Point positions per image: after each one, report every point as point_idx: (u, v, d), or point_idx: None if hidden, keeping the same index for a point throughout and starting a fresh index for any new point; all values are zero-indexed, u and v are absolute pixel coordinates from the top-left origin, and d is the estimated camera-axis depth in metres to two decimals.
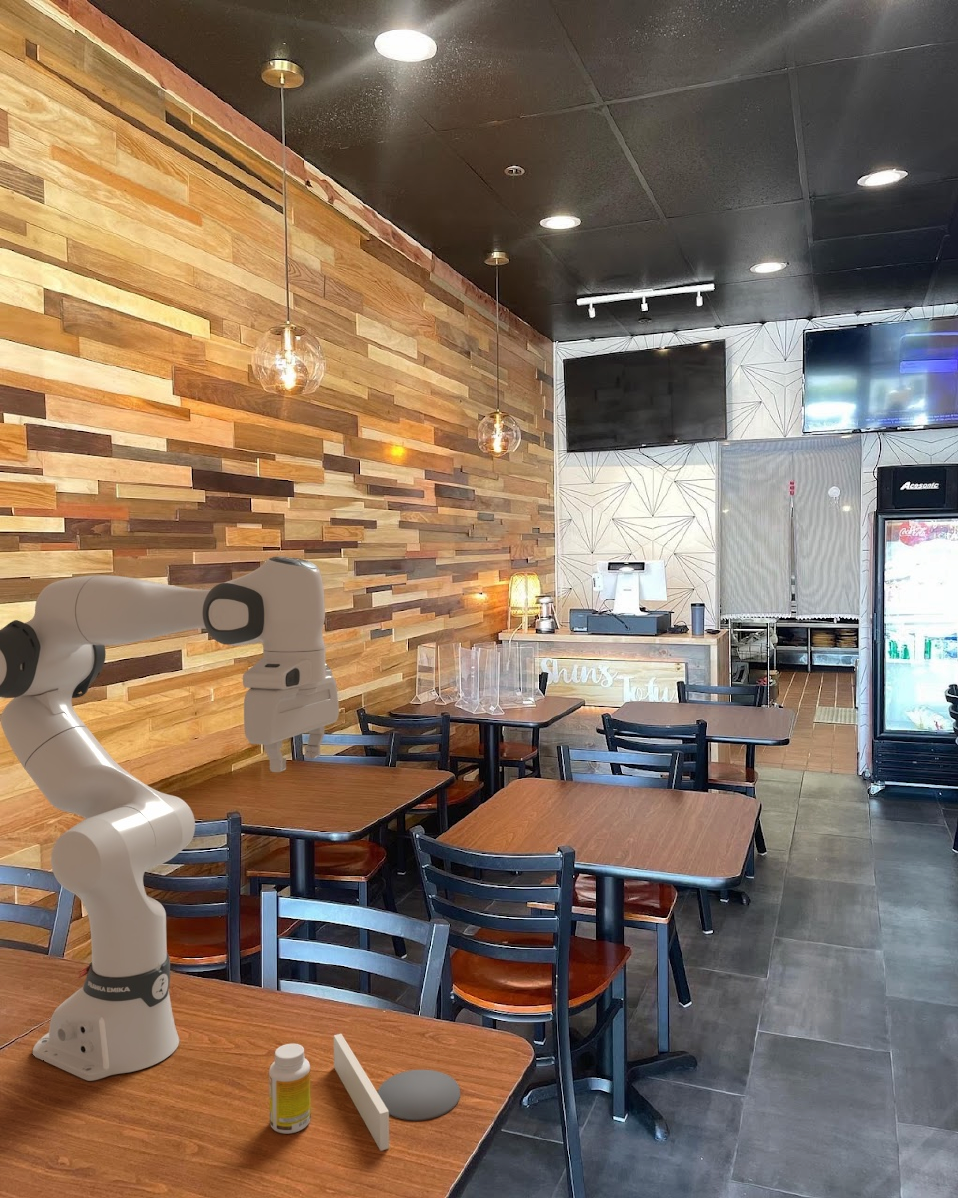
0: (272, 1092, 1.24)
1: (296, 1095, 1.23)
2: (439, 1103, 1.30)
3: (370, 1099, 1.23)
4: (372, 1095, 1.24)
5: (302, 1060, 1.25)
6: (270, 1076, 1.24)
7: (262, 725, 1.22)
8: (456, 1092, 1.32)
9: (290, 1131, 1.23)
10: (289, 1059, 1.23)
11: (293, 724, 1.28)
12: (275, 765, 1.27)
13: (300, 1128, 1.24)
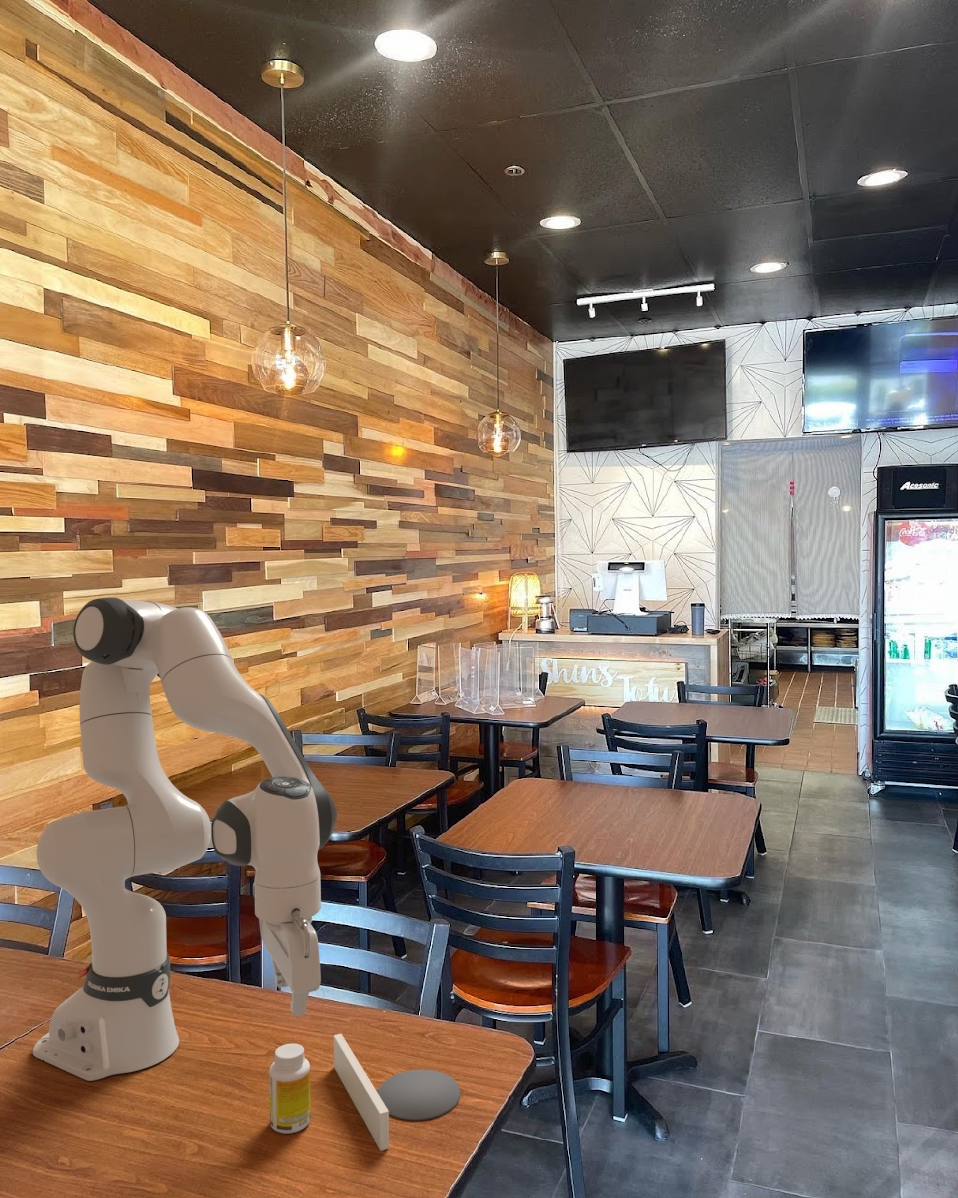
0: (272, 1092, 1.24)
1: (296, 1095, 1.23)
2: (439, 1103, 1.30)
3: (370, 1099, 1.23)
4: (372, 1095, 1.24)
5: (302, 1060, 1.25)
6: (270, 1076, 1.24)
7: None
8: (456, 1092, 1.32)
9: (290, 1131, 1.23)
10: (289, 1059, 1.23)
11: (270, 945, 1.27)
12: None
13: (300, 1128, 1.24)
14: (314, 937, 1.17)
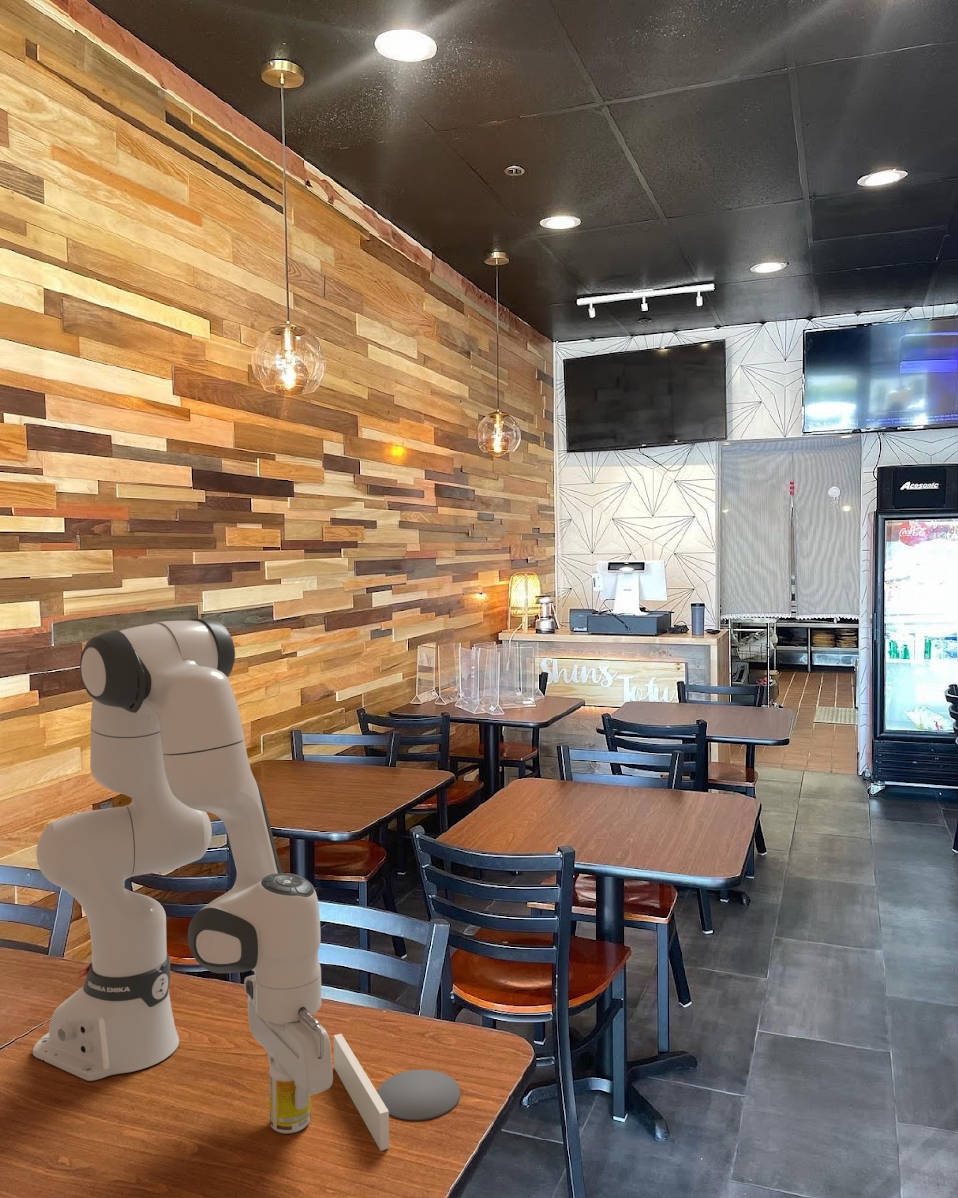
0: (272, 1092, 1.24)
1: None
2: (439, 1103, 1.30)
3: (370, 1099, 1.23)
4: (372, 1095, 1.24)
5: None
6: (270, 1076, 1.24)
7: None
8: (456, 1092, 1.32)
9: (290, 1131, 1.23)
10: None
11: (267, 1041, 1.27)
12: None
13: (300, 1128, 1.24)
14: (326, 1037, 1.19)
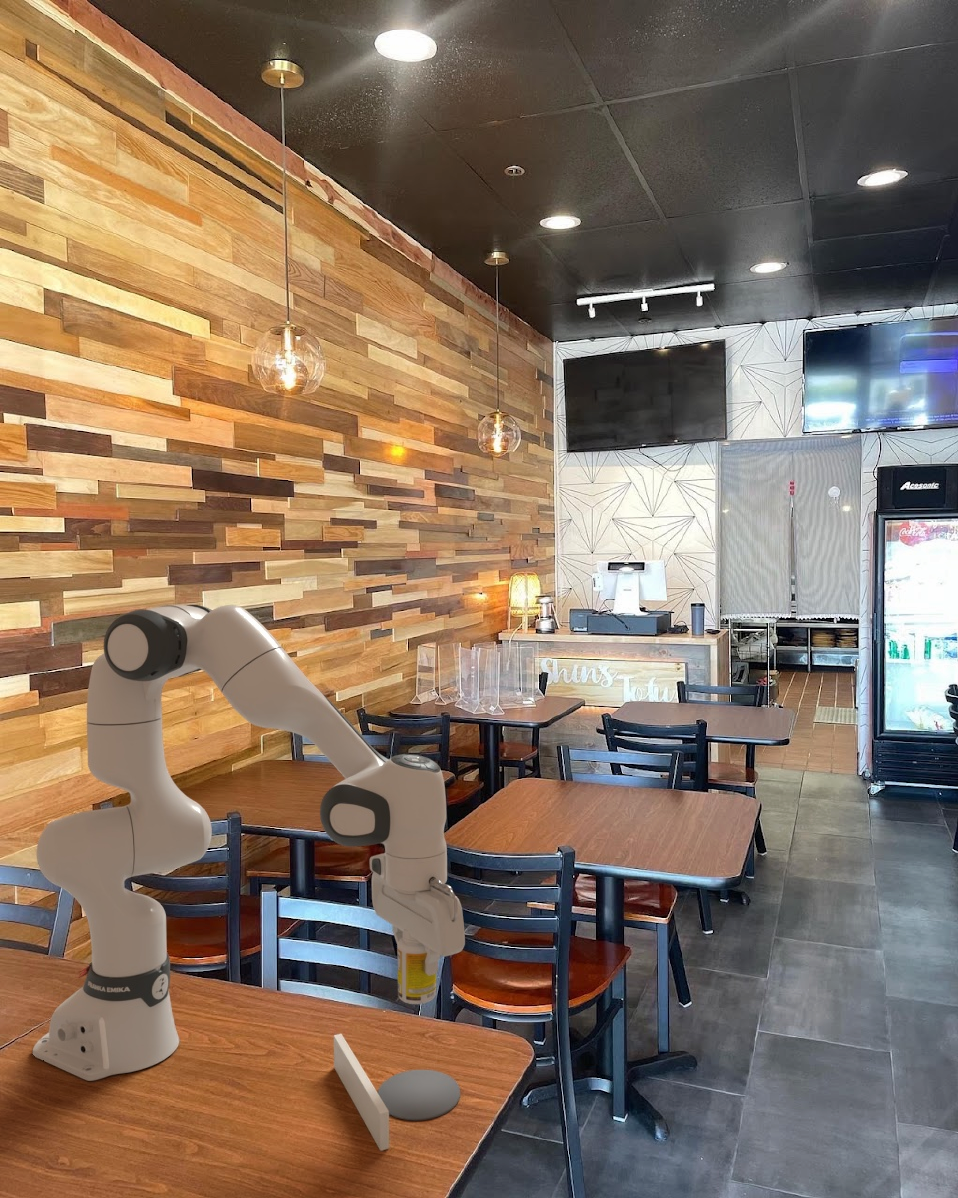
0: (401, 965, 1.29)
1: None
2: (439, 1103, 1.30)
3: (370, 1099, 1.23)
4: (372, 1095, 1.24)
5: None
6: (399, 950, 1.30)
7: None
8: (456, 1092, 1.32)
9: (419, 1001, 1.29)
10: None
11: (393, 915, 1.33)
12: None
13: (428, 999, 1.29)
14: (458, 902, 1.24)
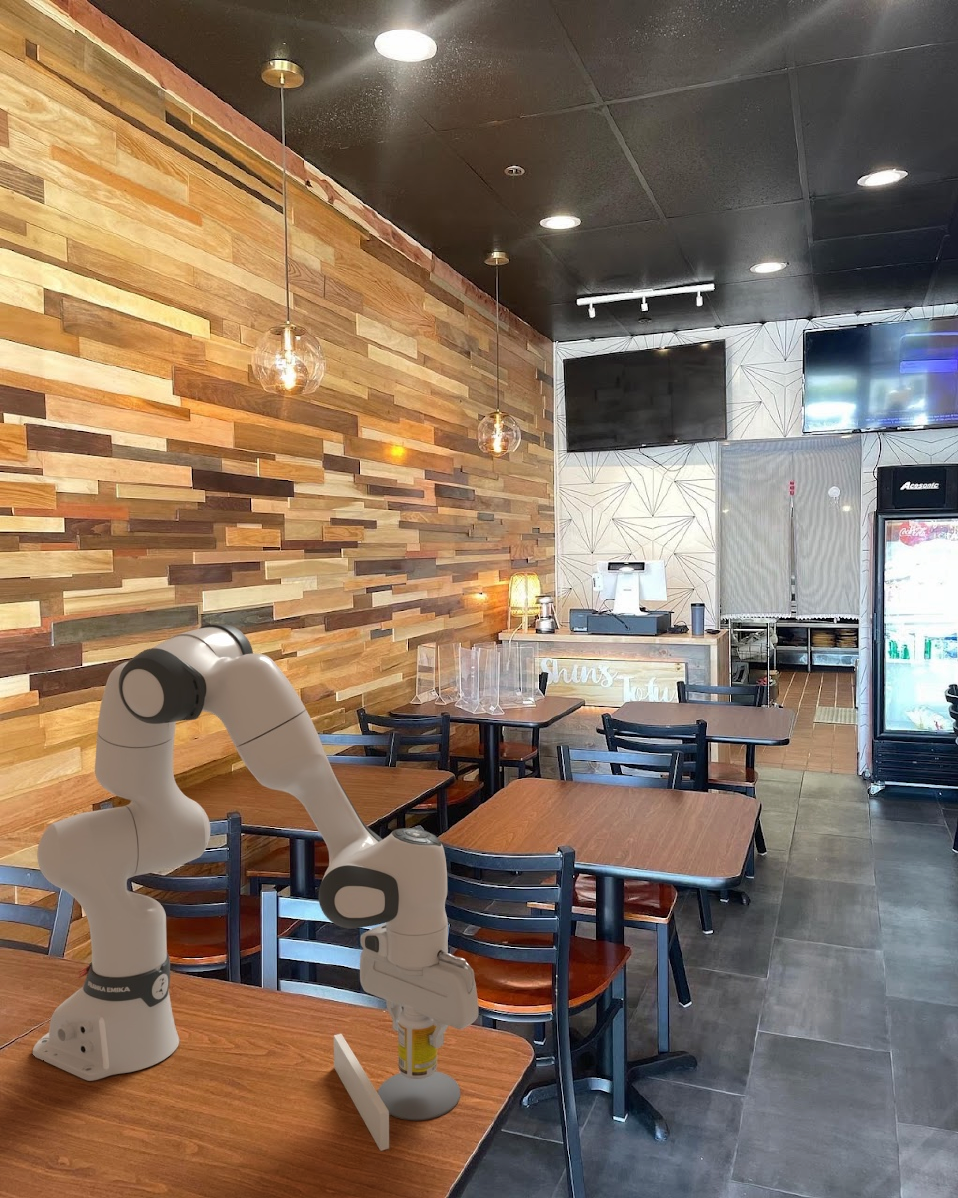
0: (406, 1041, 1.29)
1: None
2: (439, 1103, 1.30)
3: (370, 1099, 1.23)
4: (372, 1095, 1.24)
5: None
6: (403, 1026, 1.29)
7: None
8: (456, 1092, 1.32)
9: (425, 1076, 1.29)
10: None
11: (391, 991, 1.32)
12: None
13: (433, 1072, 1.30)
14: None
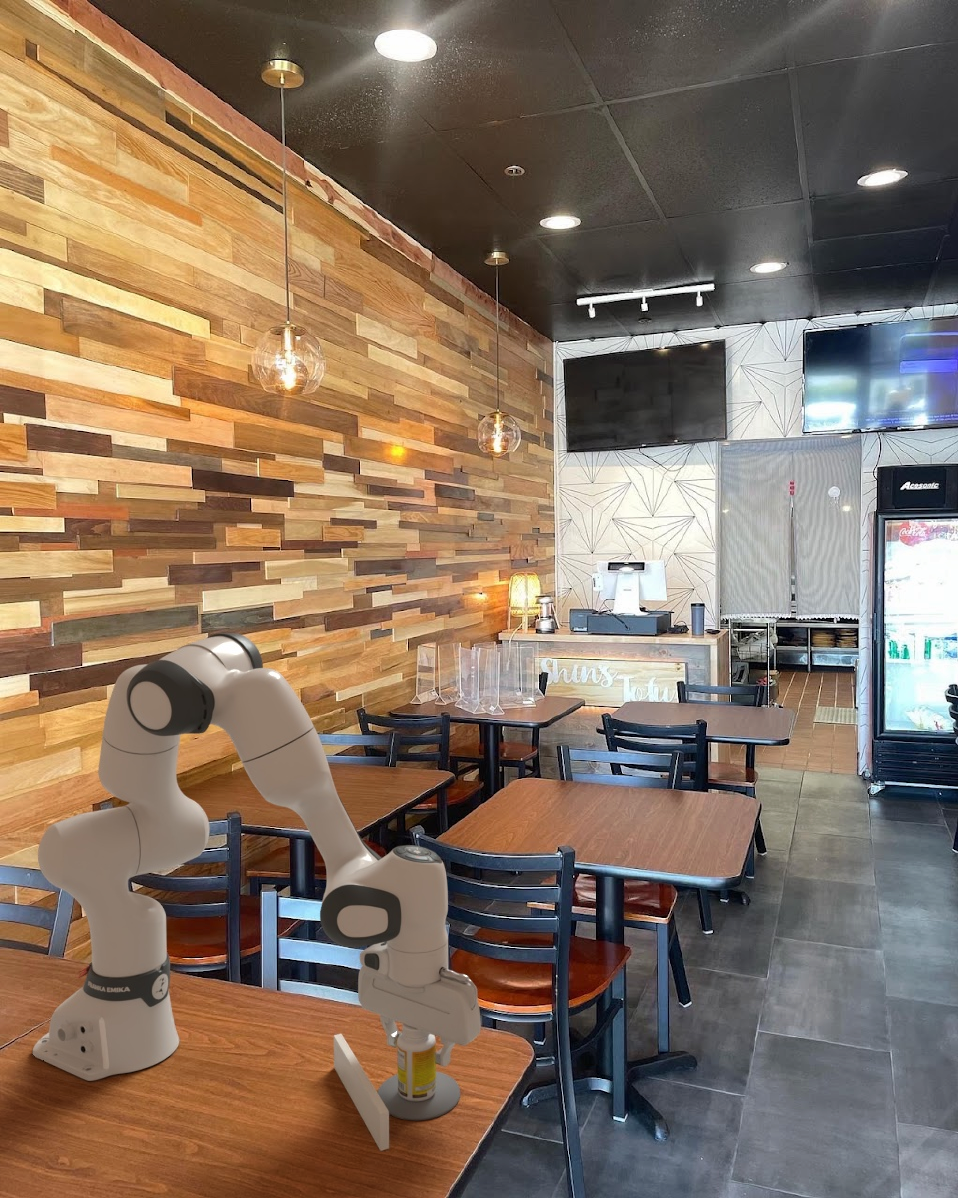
0: (406, 1064, 1.29)
1: (430, 1062, 1.30)
2: (439, 1103, 1.30)
3: (370, 1099, 1.23)
4: (372, 1095, 1.24)
5: None
6: (403, 1050, 1.30)
7: None
8: (456, 1092, 1.32)
9: (426, 1098, 1.30)
10: None
11: (391, 1008, 1.32)
12: None
13: (433, 1093, 1.31)
14: None
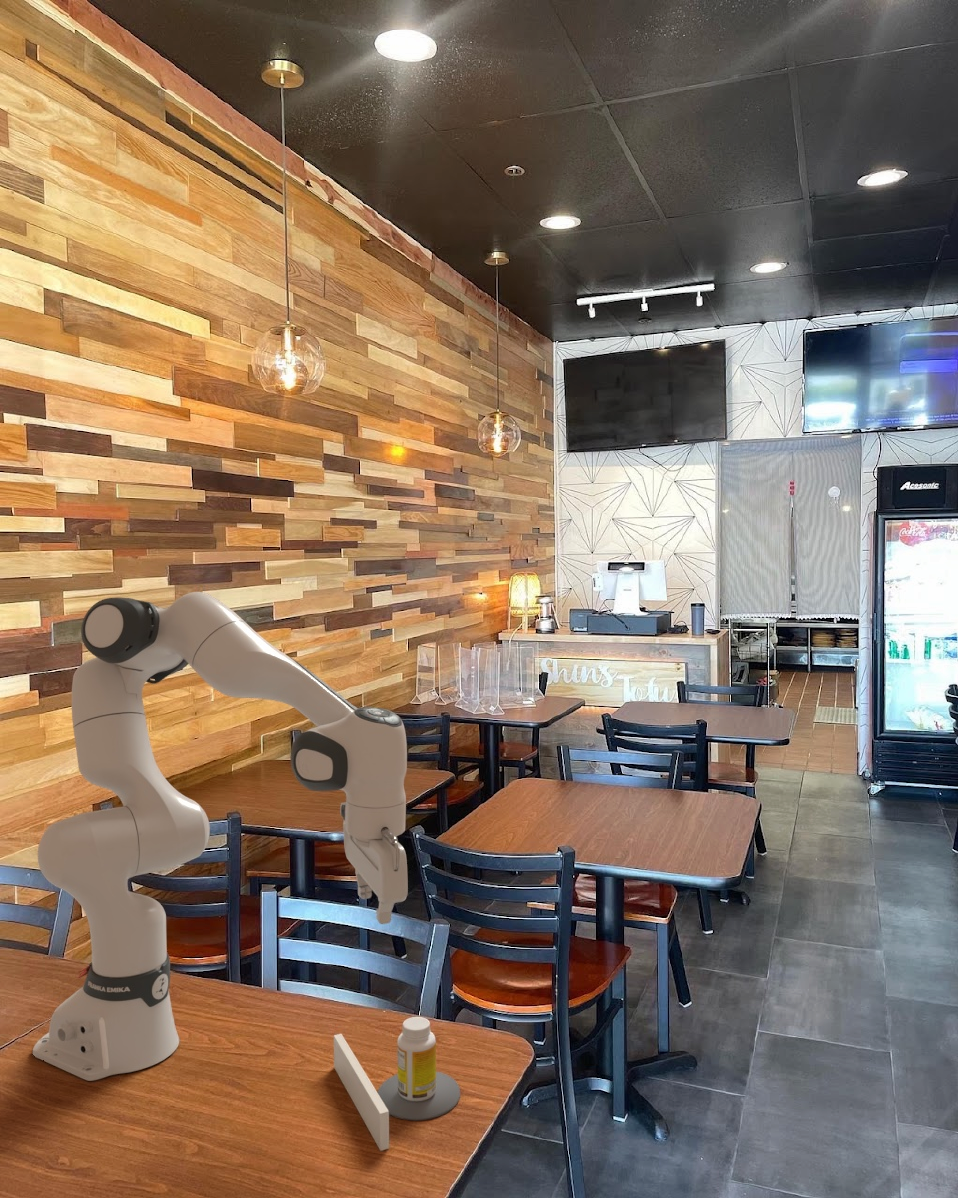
0: (406, 1064, 1.29)
1: (430, 1062, 1.30)
2: (439, 1103, 1.30)
3: (370, 1099, 1.23)
4: (372, 1095, 1.24)
5: None
6: (403, 1050, 1.30)
7: None
8: (456, 1092, 1.32)
9: (426, 1098, 1.30)
10: (422, 1030, 1.30)
11: (356, 860, 1.38)
12: None
13: (433, 1093, 1.31)
14: (403, 853, 1.28)
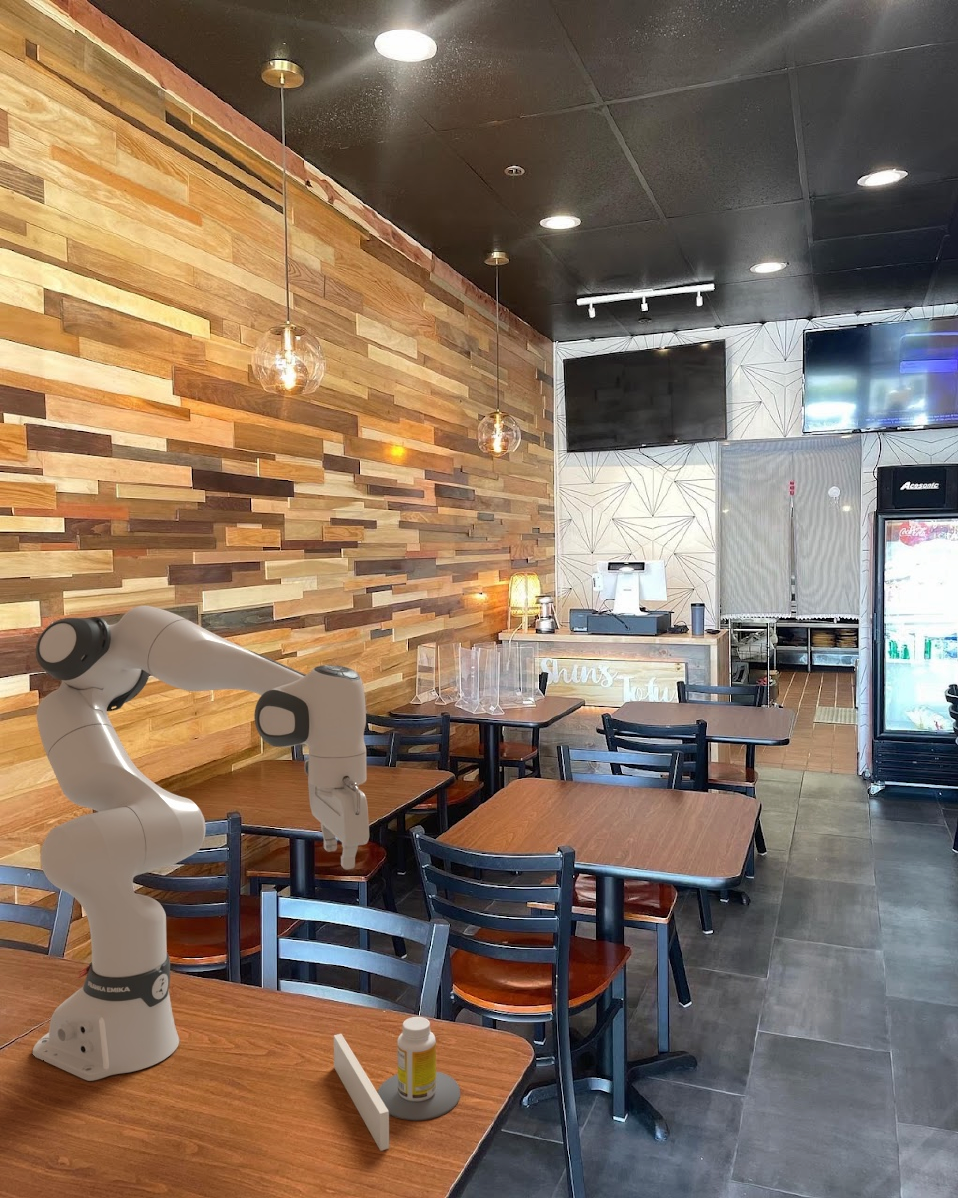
0: (406, 1064, 1.29)
1: (430, 1063, 1.30)
2: (439, 1103, 1.30)
3: (370, 1099, 1.23)
4: (372, 1095, 1.24)
5: None
6: (403, 1050, 1.30)
7: None
8: (456, 1092, 1.32)
9: (426, 1098, 1.30)
10: (422, 1030, 1.30)
11: (321, 813, 1.44)
12: None
13: (433, 1093, 1.31)
14: (363, 798, 1.34)
